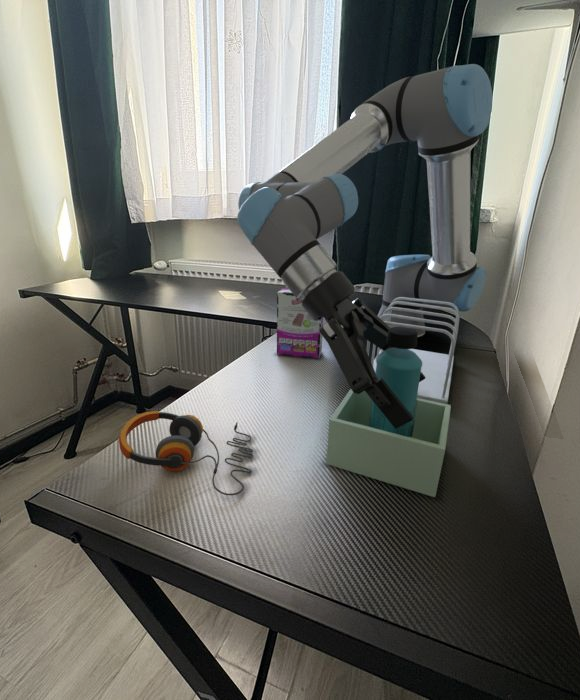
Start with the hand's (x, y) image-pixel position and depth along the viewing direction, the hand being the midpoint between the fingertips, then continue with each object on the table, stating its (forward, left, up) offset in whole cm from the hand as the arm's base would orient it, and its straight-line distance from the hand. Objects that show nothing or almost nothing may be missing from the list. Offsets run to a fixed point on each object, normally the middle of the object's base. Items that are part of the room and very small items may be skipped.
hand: (412, 400), depth 54 cm
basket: (0, -2, -10) cm, 11 cm away
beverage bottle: (0, -3, -10) cm, 10 cm away
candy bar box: (-32, -31, -11) cm, 46 cm away
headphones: (+14, -29, -11) cm, 34 cm away
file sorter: (-32, -4, -11) cm, 34 cm away
